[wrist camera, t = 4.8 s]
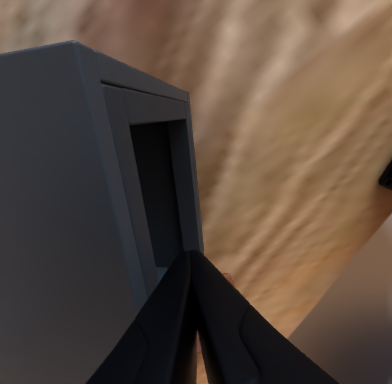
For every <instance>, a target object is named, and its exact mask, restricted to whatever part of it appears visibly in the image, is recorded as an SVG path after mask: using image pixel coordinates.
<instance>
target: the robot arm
mask: <svg viewBox="0 0 392 384" xmlns="http://www.w3.org/2000/svg"><path fill="white" fill-rule="evenodd" d="M386 181H387V182H386ZM379 185H381V186H383V187H385V188H387V189H390V190H392V160H391V162H390V163H389V165H388V167H387V168H386V170H385V171H384V173H383V174H382V176H381V177H380V179H379ZM197 331H198V336H199V340H200V345H201V350H202V355H203V359H204V364H205V369H206V374H207V378H208V383H209V384H339V383H338V382H337V381H335V380H334V379H333V378H332V377H331V376H330V375H328V374H327V373H326V372H325V371H324V370H322V369H321V368H320V367H319V366H318V365H317V364H315V363H314V362H313V361H312V360H311V359H310V358H308V357H307V356H306V355H305V354H304V353H302V352H301V351H300V350H299V349H298V348H297V347H295V346H294V345H293V344H292V343H291V342H289V341H288V340H287V339H286V338H285V337H284V336H283V335H282V334H280V333H279V332H278V331H277V330H276V329H275V328H274V327H273V326H272V325H271V324H270V323H269V322H268V321H267V320H266V319H265V318H264V317H263V316H262V315H261V314H260V313H259V312H258V311H257V310H256V309H255V308H254V307H253V306H252V305H250V303H249V302H248V301H247V300H246V299H245V298H244V297H243V296H242V295H241V294H240V292H239V291H238V290H237V289H236V288H235V287H234V286H233V285H232V284H231V283H230V282H229V281H228V280H227V279H226V278H225V277H224V276H223V275H222V274H221V272H220V271H219V270H218V269H217V268H216V267H215V266H214V265H213V264H212V263H211V262H210V261H209V260H208V259H207V258H206V257H205V256H204V255H203V254H202V252H201V251H200V250H198V249H196V250H188V251H180V252H179V254H178V255H177V257H176V258H175V260H174V261H173V262H172V264H171V265H170V267H169V268H168V270H167V271H166V273H165V274H164V276H163V277H162V279H161V280H160V282H159V283H158V285H157V286H156V288H155V289H154V291H153V292H152V293H151V295H150V296H149V298H148V299H147V301H146V302H145V304H144V305H143V307H142V308H141V310H140V311H139V313H138V314H137V316H136V317H135V319H134V321H132V323H131V324H130V326H129V327H128V329H127V330H126V332H125V333H124V334H123V336H122V337H121V339H120V340H119V341H118V343H117V344H116V346H115V347H114V348H113V350H112V351H111V352H110V354H109V355H108V356H107V357H106V359H105V360H104V361H103V362H102V364H101V365H100V366H99V367H98V369H97V370H96V371H95V372H94V374H93V375H92V376H91V377H90V379H89V380H88V381H87V382H86V383H85V384H196V375H197Z"/></svg>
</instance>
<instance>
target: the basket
mask: <svg viewBox="0 0 392 384" xmlns="http://www.w3.org/2000/svg"><path fill="white" fill-rule="evenodd" d="M196 249H198V250H200V251H201V252H202V254H203V255H204V246H203V236H202V225H201V215H200V204H199V194H198V183H197V173H196V162H195V152H194V142H193V131H192V121H191V110H190V100H189V93H188V92H186V91H184V90H182V89H179V88H177V87H175V86H173V85H171V84H168V83H166V82H164V81H162V80H160V79H157V78H155V77H153V76H151V75H149V74H147V73H144V72H142V71H140V70H138V69H136V68H133V67H131V66H129V65H127V64H125V63H122V62H120V61H118V60H116V59H114V58H112V57H109V56H107V55H105V54H103V53H101V52H98V51H96V50H93V49H92V48H90V47H87V46H85V45H83V44H81V43H79V42H77V41H74V40H72V41H66V42H61V43H56V44H50V45H45V46H40V47H35V48H29V49H24V50H19V51H13V52H8V53H3V54H0V384H85V383H86V382H87V381H88V380H89V379H90V377H91V376H92V375H93V374H94V372H95V371H96V370H97V369H98V367H99V366H100V365H101V364H102V362H103V361H104V360H105V359H106V357H107V356H108V355H109V354H110V352H111V351H112V350H113V348H114V347H115V346H116V344H117V343H118V341H119V340H120V339H121V337H122V336H123V334H124V333H125V332H126V330H127V329H128V327H129V326H130V324H131V323H132V321H134V319H135V317H136V316H137V314H138V313H139V311H140V310H141V308H142V307H143V305H144V304H145V302H146V301H147V299H148V298H149V296H150V295H151V293H152V292H153V291H154V289H155V288H156V286H157V285H158V283H159V282H160V280H161V279H162V277H163V276H164V274H165V273H166V271H167V270H168V268H169V267H170V265H171V264H172V262H173V261H174V260H175V258H176V257H177V255H178V254H179V252H180V251H188V250H196Z"/></svg>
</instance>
